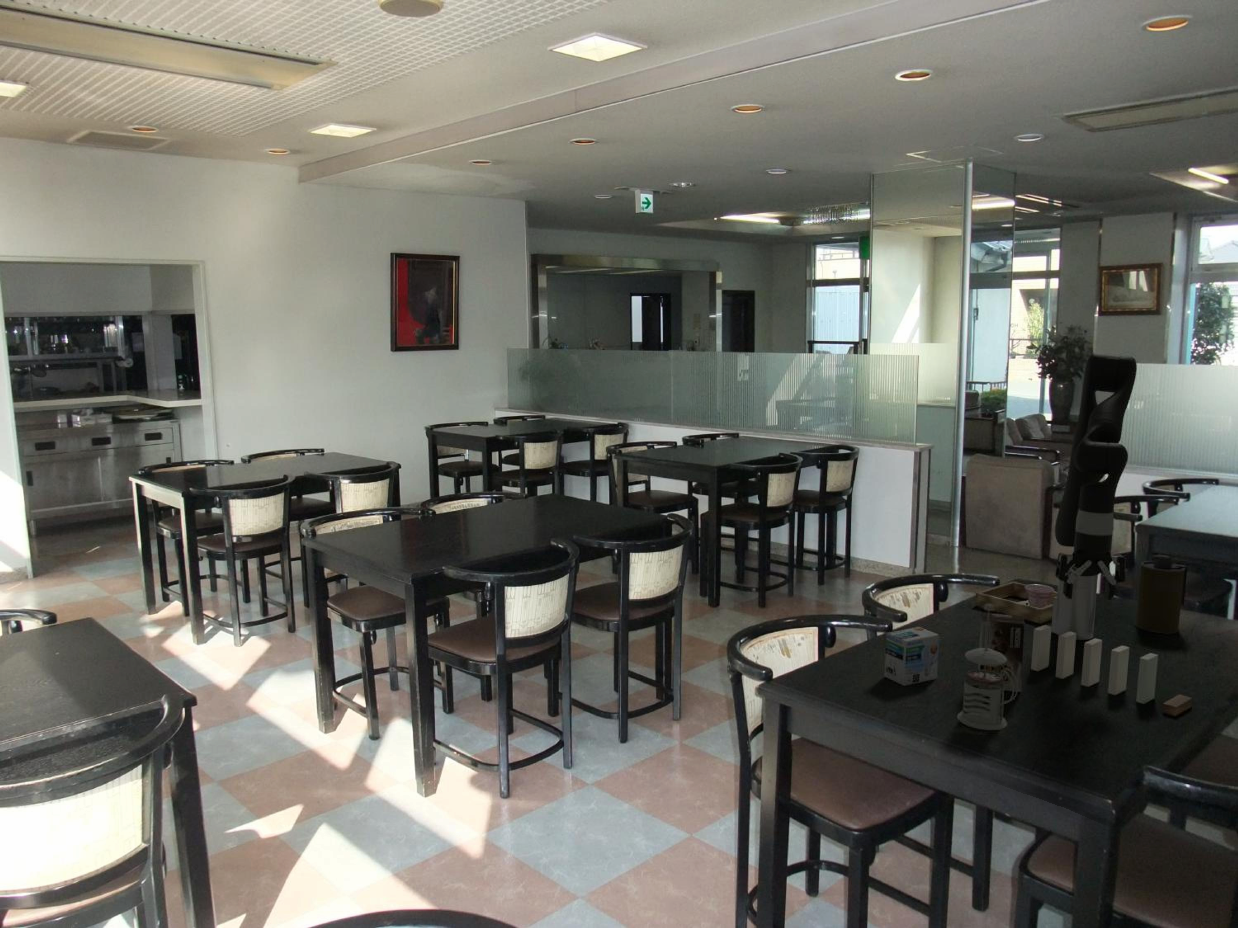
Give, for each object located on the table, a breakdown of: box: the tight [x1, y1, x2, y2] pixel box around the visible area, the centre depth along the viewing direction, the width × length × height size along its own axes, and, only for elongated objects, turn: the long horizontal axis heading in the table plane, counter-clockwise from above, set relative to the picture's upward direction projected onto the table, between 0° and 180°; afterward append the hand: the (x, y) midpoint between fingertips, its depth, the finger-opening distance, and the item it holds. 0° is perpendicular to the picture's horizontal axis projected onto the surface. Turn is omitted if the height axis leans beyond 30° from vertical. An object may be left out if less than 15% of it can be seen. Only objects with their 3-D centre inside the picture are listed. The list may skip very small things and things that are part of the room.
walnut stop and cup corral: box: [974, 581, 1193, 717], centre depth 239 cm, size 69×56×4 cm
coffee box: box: [977, 611, 1026, 693], centre depth 211 cm, size 9×6×16 cm
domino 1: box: [1030, 624, 1052, 672], centre depth 222 cm, size 2×5×10 cm, turn 127°
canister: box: [1134, 554, 1188, 635], centre depth 250 cm, size 11×10×20 cm
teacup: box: [1017, 583, 1055, 608], centre depth 269 cm, size 12×12×6 cm
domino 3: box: [1080, 638, 1103, 687], centre depth 212 cm, size 2×5×10 cm, turn 128°
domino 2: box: [1055, 631, 1077, 680], centre depth 217 cm, size 2×5×10 cm, turn 127°
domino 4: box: [1107, 645, 1130, 696], centre depth 208 cm, size 2×5×10 cm, turn 127°
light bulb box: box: [884, 626, 940, 686], centre depth 216 cm, size 11×7×11 cm, turn 118°
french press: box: [956, 604, 1019, 731], centre depth 191 cm, size 10×12×25 cm
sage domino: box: [1135, 652, 1159, 705], centre depth 203 cm, size 2×5×10 cm, turn 127°
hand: (1087, 598), depth 212 cm, fingers open, 8 cm apart
